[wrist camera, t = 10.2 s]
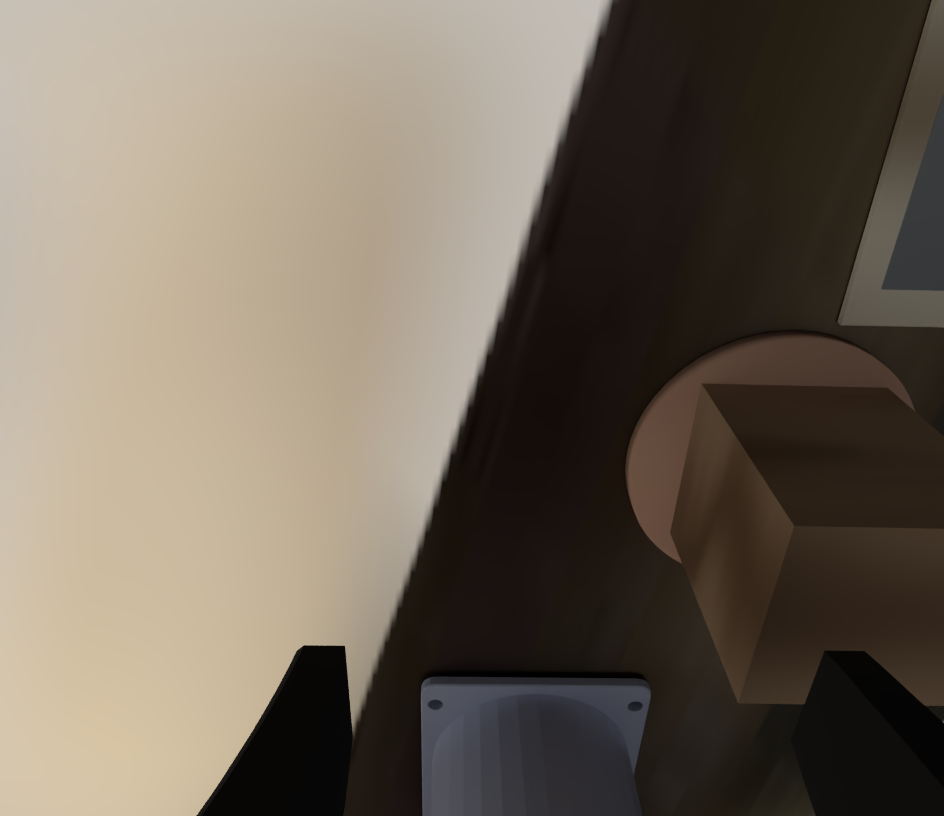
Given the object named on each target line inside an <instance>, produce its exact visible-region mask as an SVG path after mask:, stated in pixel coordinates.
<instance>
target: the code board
mask: <svg viewBox="0 0 944 816" xmlns="http://www.w3.org/2000/svg"><path fill="white" fill-rule="evenodd" d="M838 323H839V324H840V325H856V326H906V327H944V0H932V1H931V5H930V8H929V11H928V15H927V18H926V22H925V25H924V28H923V32H922V35H921V39H920V42H919V45H918V49H917V52H916V56H915V59H914V63H913V66H912V69H911V73H910V76H909V80H908V83H907V86H906V90H905V93H904V97H903V100H902V103H901V107H900V110H899V114H898V117H897V120H896V124H895V127H894V131H893V134H892V137H891V141H890V144H889V148H888V151H887V155H886V158H885V161H884V165H883V168H882V172H881V175H880V178H879V182H878V185H877V189H876V192H875V195H874V199H873V202H872V206H871V209H870V212H869V216H868V219H867V223H866V226H865V229H864V233H863V236H862V240H861V243H860V247H859V250H858V253H857V257H856V260H855V264H854V267H853V270H852V274H851V277H850V281H849V284H848V287H847V291H846V294H845V298H844V301H843V304H842V308H841V311H840V315H839V318H838Z"/></svg>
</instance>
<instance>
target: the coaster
mask: <svg viewBox="0 0 944 816" xmlns="http://www.w3.org/2000/svg"><path fill="white" fill-rule="evenodd" d="M701 383H703V384H747V385H790V386H833V387H877V388H889V389H890V390H891V391H892V392H893V393H894V394H895V395H897V396H898V397H899V398H900V399H901V400H902V401H903V402H905V403H906V404H907V405H908V406H909V407H910V408H911V409H913V410H914V407H913V404H912V402H911V399H910V396H909V394H908V393H907V391H906V389H905V388H904V386H903V384H902V383H901V381H900V380H899V379H898V378H897V377H896V376H895V375H894V374H893V372H892V371H891V370H890V369H888V368H887V367H886V366H885V365H884V364H882V363H881V362H880V361H879V360H877V359H876V358H875V357H874V356H872V355H871V354H870V353H869V352H867V351H866V350H864V349H863V348H861V347H859V346H857V345H855V344H854V343H852V342H849V341H847V340H844V339H841V338H839V337H836V336H832V335H828V334H823V333H819V332H810V331H798V330H795V331H776V332H769V333H763V334H757V335H753V336H750V337H746V338H742V339H739V340H736V341H733V342H731V343H728V344H726V345H723V346H721V347H718V348H716V349H714V350H713V351H711V352H709V353H707V354H705V355H703V356H701V357H699V358H698V359H696V360H695V361H694V362H692V363H691V364H689V365H688V366H686V367H685V368H683V369H682V370H681V371H680V372H678V373H677V374H676V375H675V376H674V377H673V378H671V379H670V380H669V381H668V382H667V383H666V384H665V385H664V386H663V387H662V388H661V390H660V391H659V392H658V393H657V394H656V395H655V396H654V398H653V399H652V400H651V402H650V403H649V404H648V406H647V407H646V408H645V410H644V412H643V413H642V415H641V417H640V419H639V421H638V422H637V424H636V426H635V429H634V432H633V434H632V437H631V439H630V443H629V447H628V451H627V456H626V467H625V474H626V486H627V490H628V494H629V498H630V501H631V504H632V507H633V510H634V512H635V515H636V517H637V519H638V522H639V524H640V526H641V527H642V529H643V530H644V532H645V533H646V535H647V536H648V537H649V538H650V540H651V541H652V542H653V543H654V544H655V545H656V546H657V547H658V548H659V549H661V550H662V551H663V552H664V553H665V554H667V555H668V556H670V557H671V558H673V559H675V560H676V561H678V562H680V563H682V562H681V559H680V557H679V554H678V552H677V549H676V547H675V544H674V542H673V539H672V537H671V534H670V531H671V526H672V521H673V516H674V512H675V507H676V502H677V497H678V493H679V488H680V483H681V478H682V473H683V469H684V464H685V459H686V454H687V450H688V445H689V440H690V435H691V431H692V426H693V421H694V416H695V411H696V407H697V402H698V397H699V392H700V388H701ZM914 411H915V410H914Z"/></svg>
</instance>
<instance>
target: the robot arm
mask: <svg viewBox="0 0 944 816" xmlns="http://www.w3.org/2000/svg"><path fill="white" fill-rule="evenodd" d="M650 698H651V691H650V687H649V684H648V683H647V682H646V681H644V680H643V679H637V678H536V677H430V678H428V679H426V680H425V681H424V682H423V683H422V686H421V733H422V808H423V816H643V815H642V811H641V806H640V802H639V797H638V793H637V788H636V784H635V779H634V772H635V768H636V763H637V758H638V754H639V749H640V745H641V740H642V735H643V731H644V726H645V721H646V717H647V712H648V708H649V703H650ZM352 738H353V735H352V723H351V712H350V700H349V689H348V677H347V665H346V653H345V646H303V647H301V648H300V649H299V650H298V651H297V652H296V654H295V656H294V658H293V660H292V662H291V664H290V666H289V668H288V670H287V672H286V674H285V675H284V677H283V679H282V681H281V683H280V685H279V687H278V689H277V690H276V692H275V694H274V696H273V697H272V699H271V701H270V703H269V704H268V706H267V708H266V710H265V711H264V713H263V715H262V716H261V718H260V720H259V722H258V723H257V725H256V726H255V728H254V730H253V732H252V733H251V735H250V736H249V738H248V739H247V741H246V742H245V744H244V746H243V747H242V749H241V750H240V752H239V753H238V755H237V757H236V758H235V760H234V761H233V763H232V764H231V766H230V767H229V769H228V771H227V772H226V774H225V775H224V777H223V778H222V780H221V782H220V783H219V784H218V786H217V788H216V789H215V790H214V792H213V793H212V795H211V796H210V798H209V799H208V800H207V802H206V803H205V805H204V806H203V808H202V809H201V810H200V812H199V813H198V815H197V816H343V813H344V808H345V799H346V791H347V782H348V774H349V765H350V756H351V747H352ZM791 740H792V743H793V746H794V750H795V753H796V756H797V760H798V763H799V766H800V769H801V773H802V776H803V779H804V782H805V785H806V788H807V791H808V794H809V797H810V800H811V803H812V806H813V809H814V812H815V814H816V816H944V723H943V722H942V721H941V720H940V719H939V718H937V717H936V716H935V715H934V714H933V713H932V712H931V711H930V710H929V709H928V708H927V707H926V706H924V705H923V704H922V703H921V702H920V701H919V700H918V699H917V698H916V697H915V696H914V695H913V694H912V693H910V692H909V691H908V690H907V689H906V688H905V687H904V686H903V685H902V684H901V683H900V682H899V681H897V680H896V679H895V678H894V677H893V676H892V675H891V674H890V673H889V672H888V671H887V670H885V669H884V668H883V667H882V666H881V665H880V664H879V663H878V662H877V661H875V660H874V659H873V658H872V657H871V656H870V655H869V654H868V653H866V652H865V651H824V653H823V656H822V659H821V661H820V664H819V667H818V669H817V672H816V675H815V677H814V680H813V683H812V685H811V688H810V691H809V693H808V696H807V699H806V701H805V704H804V707H803V709H802V712H801V715H800V717H799V720H798V723H797V726H796V728H795V731H794V734H793V736H792V739H791Z"/></svg>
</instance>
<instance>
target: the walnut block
mask: <svg viewBox="0 0 944 816" xmlns="http://www.w3.org/2000/svg"><path fill="white" fill-rule="evenodd" d="M670 534H671V537H672V539H673V542H674V544H675V547H676V549H677V552H678V554H679V557H680V559H681V562H682V564H683V567H684V569H685V572H686V574H687V577H688V579H689V582H690V584H691V587H692V589H693V592H694V594H695V597H696V599H697V602H698V604H699V607H700V609H701V612H702V614H703V617H704V619H705V622H706V624H707V627H708V629H709V632H710V634H711V637H712V639H713V642H714V644H715V647H716V649H717V652H718V654H719V657H720V659H721V662H722V664H723V667H724V669H725V672H726V674H727V676H728V679H729V681H730V684H731V686H732V689H733V691H734V694H735V696H736V699H737V701H738V703H751V704H805V701H806V699H807V696H808V693H809V691H810V688H811V685H812V683H813V680H814V677H815V675H816V672H817V669H818V667H819V664H820V661H821V659H822V656H823V653H824V651H865V652H866V653H868V654H869V655H870V656H871V657H872V658H873V659H874V660H875V661H877V662H878V663H879V664H880V665H881V666H882V667H883V668H884V669H885V670H887V671H888V672H889V673H890V674H891V675H892V676H893V677H894V678H895V679H896V680H897V681H899V682H900V683H901V684H902V685H903V686H904V687H905V688H906V689H907V690H908V691H909V692H910V693H912V694H913V695H914V696H915V697H916V698H917V699H918V700H919V701H920V702H921V703H922V704H923V705H924V706H944V436H942V435H941V434H940V433H939V432H938V431H937V430H936V429H934V428H933V427H932V426H931V425H930V424H929V423H928V422H926V421H925V420H924V419H923V418H922V417H921V416H920V415H918V414H917V413H916V412H915V411H914V410H913V409H911V408H910V407H909V406H908V405H907V404H906V403H905V402H903V401H902V400H901V399H900V398H899V397H898V396H897V395H895V394H894V393H893V392H892V391H891V390H890V389H889V388H877V387H833V386H790V385H747V384H703V383H701V388H700V392H699V397H698V402H697V407H696V411H695V416H694V421H693V426H692V431H691V435H690V440H689V445H688V450H687V454H686V459H685V464H684V469H683V473H682V478H681V483H680V488H679V493H678V497H677V502H676V507H675V512H674V516H673V521H672V526H671V531H670Z"/></svg>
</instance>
